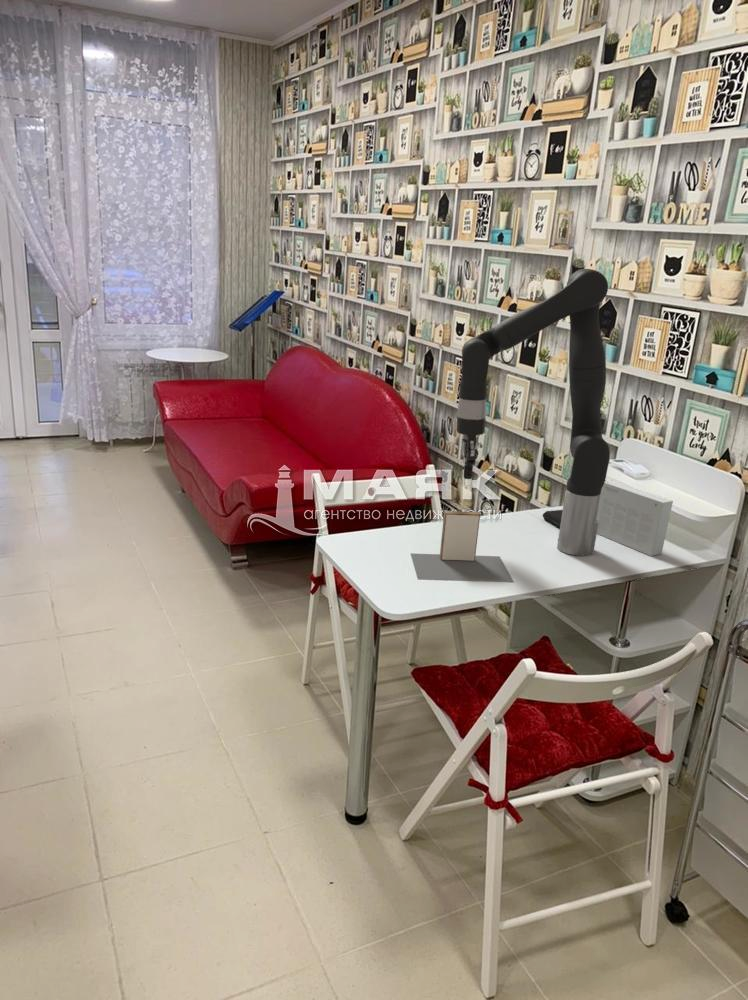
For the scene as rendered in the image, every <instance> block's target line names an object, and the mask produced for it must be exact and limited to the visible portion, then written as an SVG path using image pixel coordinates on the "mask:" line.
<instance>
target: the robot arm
mask: <svg viewBox="0 0 748 1000" xmlns="http://www.w3.org/2000/svg"><path fill="white" fill-rule="evenodd" d="M608 291H609V284H608V280H607V278H606V277H605V275H604V274H603V273H602V272H600V271H598V270H595V269H590V268H581V269H578V270H576V271H575V272H573V273H572V274H571V275H570V277H568V280H567V282H566V285H565V286H564V287H563V288H561V289H560V290H559V291H557V292H556V293H555V294H553V295H551V296H550V297H548V298H546V299H544V300H542V301H541V302H538V303H535V304H534V305H531V306H529V307H527V308H524V309H523V310H520V311H518V312H517V313H515V314H513V315H511V316H509V317H507V318H506V319H504V320H502V321H501V322H499V323H498V324H496V325H494V326H493V327H492V328H490V329H487V330H485V331H484V332H481V333H479V334H477V335H475V336H473V337H471V338H469V339H468V340H467V341H466V342H465V343H464V344H463V346H462V349H461V379H460V383H459V394H458V395H459V396H458V397H459V398H458V403H457V412H456V414H457V415H456V417H457V418H456V433H458V434H460V435H463V437H464V438H462V439H461V455H462V463H463V473H462V474H463V475H462V476H463V478H464V480H472V479H473V469H474V466H475V464H476V462H477V461H476V460H477V456H478V453H479V451H478V447H479V441H478V440H477V436H481V435H484V434H485V431H486V421H487V420H486V417H487V390H488V386H487V385H488V383H487V380H488V379H487V377H488V371H489V365H490V364H489V363H490V359H491V358H492V357H495V356H496V355H497V354H499V353H500V352H504V351H507V350H510V349H512V348H514V347H515V346H517V345H519V344H521V343H522V342H524V341H526V340H527V339H529V338H531V337H533V336H534V335H536V334H538V333H539V332H541V331H543V330H544V329H546V328H548V327H549V326H551V325H553V324H555V323H557V322H559V321H561V320H564V319H565V318H567V317H569V326H570V329H569V345H568V346H569V347H568V348H569V350H568V351H569V353H568V355H569V356H568V357H569V358H568V375H569V376H568V377H569V379H568V380H569V393H570V403H571V413H572V418H571V419H572V421H571V433H570V434H571V435H570V442H569V443H570V445H569V451H570V454H571V457H572V459H573V461H572V466H571V472H570V476H569V478H568V479H567V481H566V487H565V494H564V499H563V506H562V510H563V511H562V518H561V524H560V529H559V532H558V538H557V547H556V548H557V549H558V550H559V551H561V552H562V553H564V554H569V555H571V556H587V555H593V554H594V552H595V545H596V541H597V535H598V534H597V529H598V523H599V522H598V521H597V520H596V518H597V512H598V506H599V500H600V494H601V489H602V487H603V485H604V483H605V481H606V479H607V473H608V468H609V463H610V457H611V450H610V447H609V446H610V445H609V443H607V442H606V440H605V439H604V438H603V435H602V426H601V408H602V403H603V401H604V400H603V399H604V395H605V389H606V383H607V365H606V364H607V362H606V361H607V360H606V352H605V345H604V342H603V341H604V340H603V338H602V333H601V328H600V307H601V306H600V304H601V303H602V302H603V301H604V299H606V296H607V294H608Z"/></svg>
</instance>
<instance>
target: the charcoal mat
mask: <svg viewBox="0 0 748 1000" xmlns="http://www.w3.org/2000/svg"><path fill="white" fill-rule="evenodd" d="M410 556H411V560H412V565H413V567H414V571H415V574H416V578H417V580H425V581H452V582H453V581H457V582H459V581H460V582H461V581H462V582H484V583H485V582H490V583H492V582H493V583H515V581H514V580H513V578H512V575H511V574H510V572H509V570H508V569H507V567H506V564H505V563H504V561H503V560H502V558H501V556H500V555H499V556H496V555H475V561H452V560H440V553H439V554H437V553H414V552H413V553H410Z"/></svg>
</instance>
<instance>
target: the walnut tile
mask: <svg viewBox="0 0 748 1000" xmlns="http://www.w3.org/2000/svg"><path fill="white" fill-rule="evenodd" d="M480 519H481V513H480V512H479V511H460V510H459V511H458V510H444V511H443V521H442V529H441V539H440V540H441V541H440V549H439V550H440V551H439V554H440V560H452V561H475V556H477V555H476V553H477V545H478V536H479V530H480V529H479V528H480Z"/></svg>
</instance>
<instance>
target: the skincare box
mask: <svg viewBox="0 0 748 1000" xmlns="http://www.w3.org/2000/svg"><path fill="white" fill-rule="evenodd" d="M673 503H674V501H673V500H671V499H668V498H666V497H662V496H660V495H656V494H655V493H654V494H653V493H651V492H648V491H645V490H642V489H639V488H635V487H633V486H630V485H627V484H624V483H621V482H618V481H616V480H615V481H614V480H607V481H606V480H605V483H604V485H603V487H602V489H601V494H600V500H599V506H598V512H597V518H596V520H597V521H598V522H599V523H598V529H597V535H599V536H602V537H604V538H607V539H609V540H611V541H613V542H616V543H619V544H620V545H624V546H625V547H628V548H631V549H633V550H636V551H638V552H641V553H643V554H645V555H648V556H649V557H653V556H658V555H660V554H663V549H664V545H665V540H666V539H665V538H666V534H667V530H668V526H669V521H670V516H671V512H672V507H673Z"/></svg>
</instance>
